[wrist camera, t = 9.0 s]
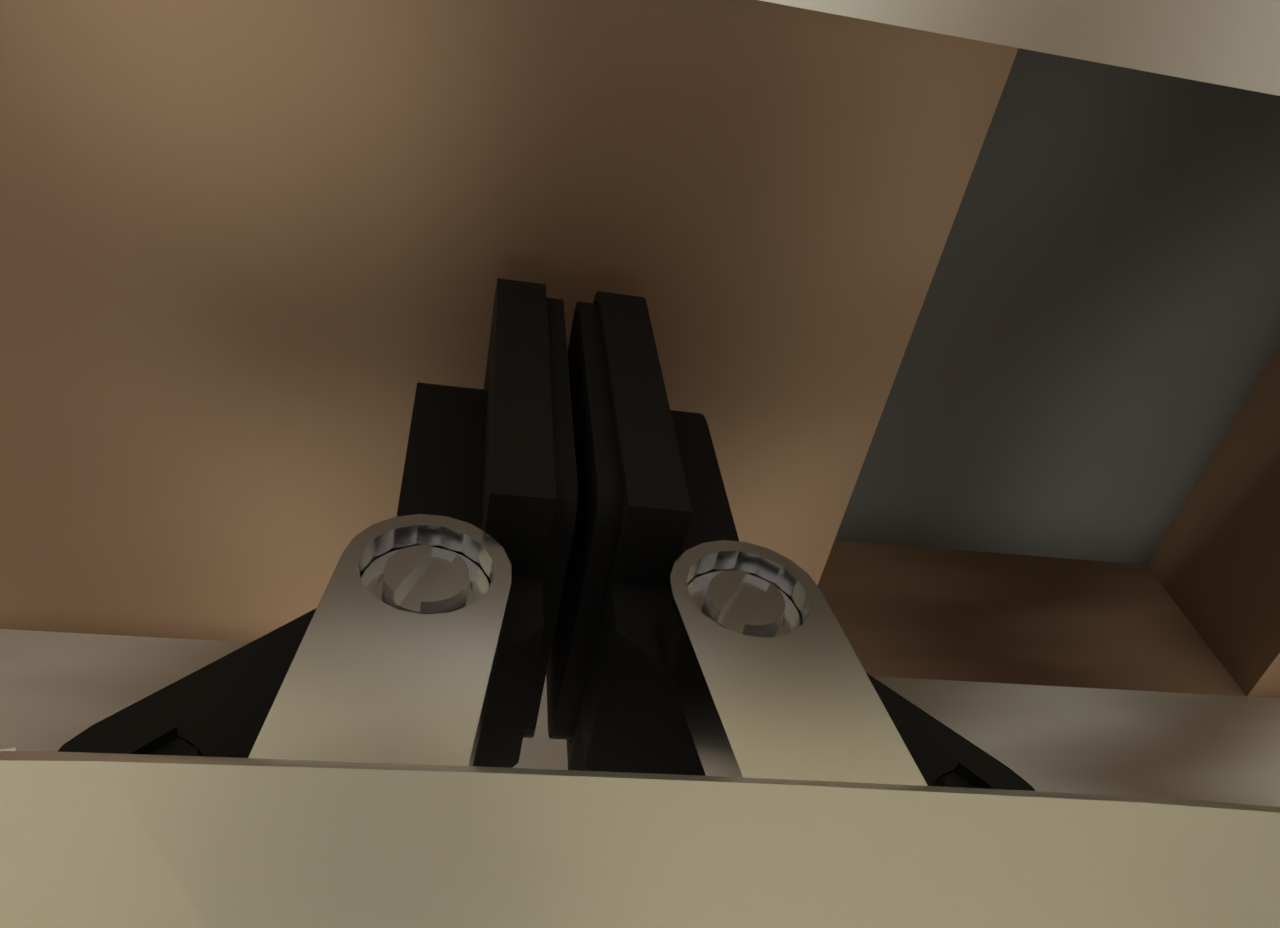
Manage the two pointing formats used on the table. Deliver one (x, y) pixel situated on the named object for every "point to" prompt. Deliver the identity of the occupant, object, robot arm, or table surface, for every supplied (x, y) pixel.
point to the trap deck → (671, 329)
